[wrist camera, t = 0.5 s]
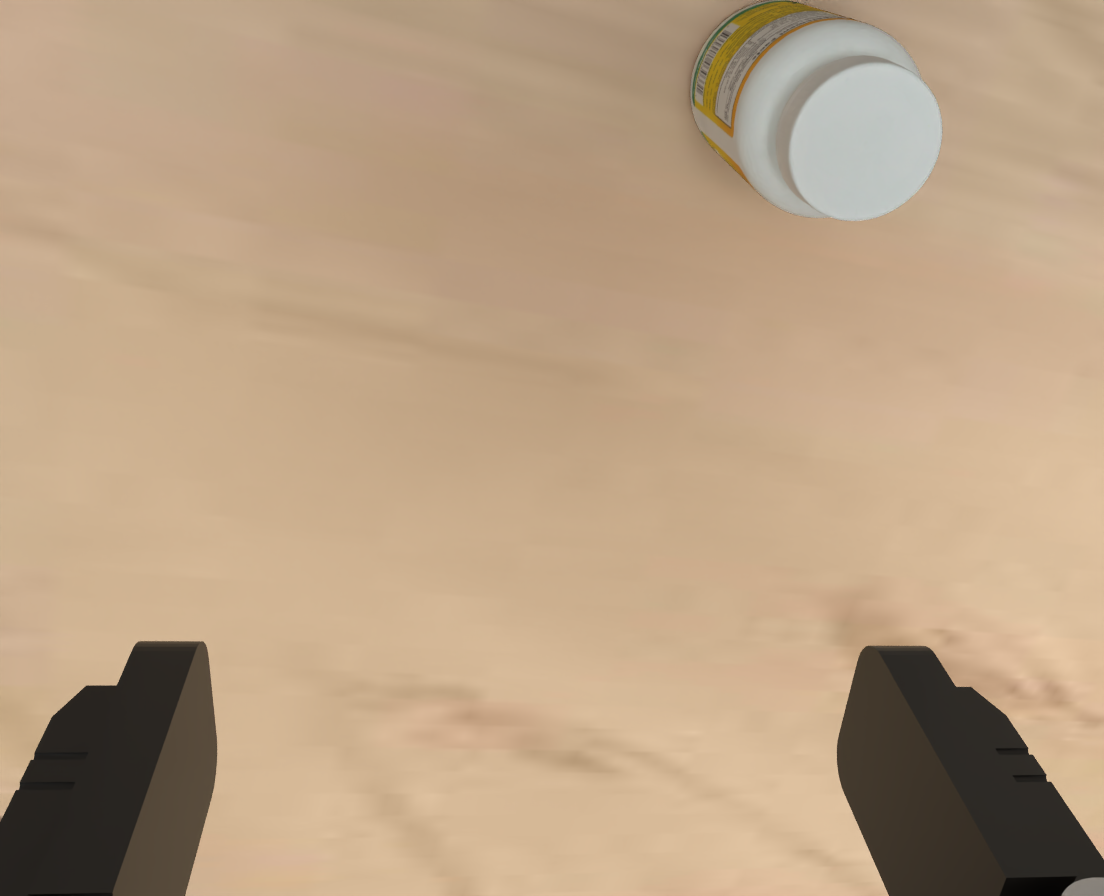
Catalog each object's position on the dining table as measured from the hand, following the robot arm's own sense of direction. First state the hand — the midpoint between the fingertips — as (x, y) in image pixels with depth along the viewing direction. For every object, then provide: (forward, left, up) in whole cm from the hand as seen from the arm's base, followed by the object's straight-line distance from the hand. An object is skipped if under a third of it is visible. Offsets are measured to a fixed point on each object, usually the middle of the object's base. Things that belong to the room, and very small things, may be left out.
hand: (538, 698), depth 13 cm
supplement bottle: (-4, +9, -26) cm, 28 cm away
